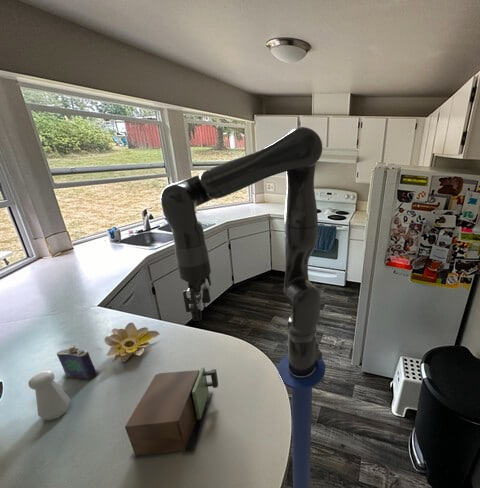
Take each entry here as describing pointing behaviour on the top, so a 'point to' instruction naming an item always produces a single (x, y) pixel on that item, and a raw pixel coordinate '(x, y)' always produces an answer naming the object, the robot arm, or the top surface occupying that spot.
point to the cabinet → (166, 415)
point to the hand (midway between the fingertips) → (202, 310)
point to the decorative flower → (128, 341)
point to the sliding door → (203, 389)
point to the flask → (76, 363)
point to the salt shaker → (49, 396)
